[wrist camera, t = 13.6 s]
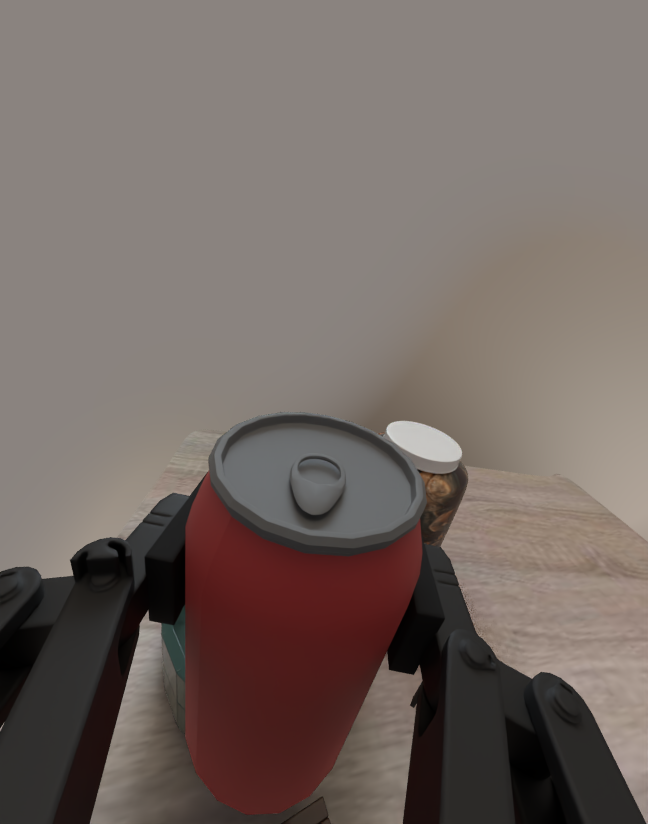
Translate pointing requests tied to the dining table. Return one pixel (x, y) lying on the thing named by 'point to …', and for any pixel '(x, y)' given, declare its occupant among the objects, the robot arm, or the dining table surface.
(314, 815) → the brown square frame
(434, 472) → the jar
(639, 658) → the dining table surface
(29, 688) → the robot arm
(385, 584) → the beer can
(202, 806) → the dining table surface
